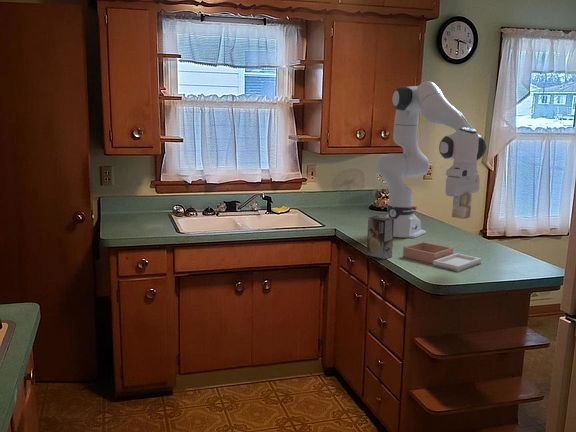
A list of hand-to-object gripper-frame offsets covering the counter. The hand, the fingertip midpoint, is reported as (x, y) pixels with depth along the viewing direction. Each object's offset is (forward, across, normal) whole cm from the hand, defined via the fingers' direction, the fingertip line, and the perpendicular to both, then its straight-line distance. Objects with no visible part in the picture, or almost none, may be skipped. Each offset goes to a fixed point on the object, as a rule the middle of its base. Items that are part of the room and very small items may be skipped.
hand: (461, 205), depth 231 cm
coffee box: (+24, +13, -28) cm, 39 cm away
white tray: (+24, 0, 0) cm, 24 cm away
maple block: (+5, 0, 0) cm, 5 cm away
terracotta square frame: (+24, -1, -14) cm, 28 cm away
